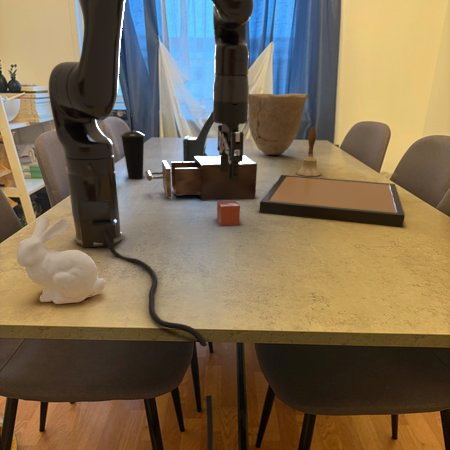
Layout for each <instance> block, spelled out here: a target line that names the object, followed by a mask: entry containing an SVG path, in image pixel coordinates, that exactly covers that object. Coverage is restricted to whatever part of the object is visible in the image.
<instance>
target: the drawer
mask: <svg viewBox="0 0 450 450" xmlns="http://www.w3.org/2000/svg"><path fill="white" fill-rule="evenodd" d="M170 166H171V167H170ZM161 168H162V169H161V171H150V170H146V171H145V173H144V174H145V178H146V180H147V181H149V182H151V181H152V180H159V179H160V180H162V188H163V190H164V193H165V196H166V198H168V199H169V198H172V190H173V192H174V194H175V196H193V195H195V196H197V195H198V196H199V195H201V167H200V166H199V164H198V163H197V162H183V161H171V162H170V165H169V163H168V162H167V160H162V161H161Z"/></svg>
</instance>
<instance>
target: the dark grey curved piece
mask: <svg viewBox="0 0 450 450" xmlns="http://www.w3.org/2000/svg"><path fill="white" fill-rule="evenodd" d="M214 124H215V122H214V121H213V110H212V111H211V113H210V114H209V116H208V117H207V118H206V120H205V122H204V124H203V126H202V128H201V130H200V131H199V134H198V136H196V137H195V136H194V137H193V136H190V135H185V136H184V138H183V139H182V153H183V159H182V160H183V161H182V162H194V157H198V156H208V154H207V153H206V149H207V142H208V137H209V135H210V133H211V129H212V128H213V127H214Z"/></svg>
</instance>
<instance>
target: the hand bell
mask: <svg viewBox="0 0 450 450" xmlns="http://www.w3.org/2000/svg"><path fill="white" fill-rule="evenodd" d="M307 139H308V140H307V141H308V153H307V157H305V158H304V159H303V160H302V161H303V162H302V166H301V168H300V169H299V170H298V171H297V176H302V177H319V176H320V175H321V172H320V171H319V169H318V167H317V158H315V157H314V146H315V144H316V139H317V132H316V127H314V126H312V127H310V130H309V132H308V138H307Z"/></svg>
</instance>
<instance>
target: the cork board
mask: <svg viewBox="0 0 450 450" xmlns="http://www.w3.org/2000/svg"><path fill="white" fill-rule="evenodd" d="M259 213H261V214H270V215H271V214H272V215H282V216H289V217H290V216H291V217H301V218H309V219H310V218H311V219H321V220H331V221H341V222H351V223H352V222H353V223H358V224H373V225H379V226H389V227H400V228H403V226H404V222H405V216H406V215H405V211H404V208H403V205H402V202H401V199H400V196H399V192H398V189H397V186H396V183H390V182H377V181H365V180H364V181H363V180H352V179H351V180H350V179H341V178H340V179H339V178H328V177H327V178H326V177H316V176H301V175H290V174H289V175H288V174H280V176H279V177H278V179H277V180H276V181H275V182H274V184H273V185H272V186H271V187H270V189H269V190H268V191H267V192H266V194H265V195H264V196H263V198H262V199H261V200H260V201H259Z"/></svg>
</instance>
